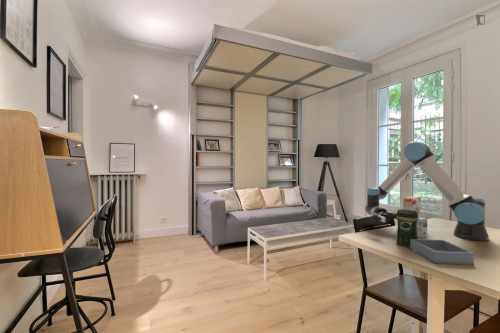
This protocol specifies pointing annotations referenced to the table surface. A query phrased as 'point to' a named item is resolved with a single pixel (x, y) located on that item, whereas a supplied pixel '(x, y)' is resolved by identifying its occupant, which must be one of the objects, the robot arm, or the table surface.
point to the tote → (442, 252)
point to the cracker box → (412, 204)
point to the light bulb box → (422, 227)
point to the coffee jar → (406, 226)
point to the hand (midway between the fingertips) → (397, 220)
